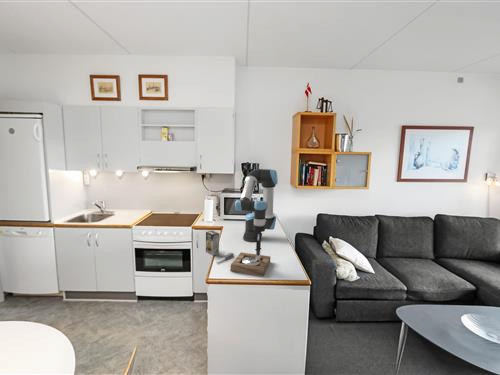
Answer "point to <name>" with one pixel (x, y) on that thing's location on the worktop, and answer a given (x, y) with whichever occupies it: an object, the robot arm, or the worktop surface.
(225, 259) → the screwdriver
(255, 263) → the dial
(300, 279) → the worktop surface
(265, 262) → the housing
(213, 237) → the coffee box
